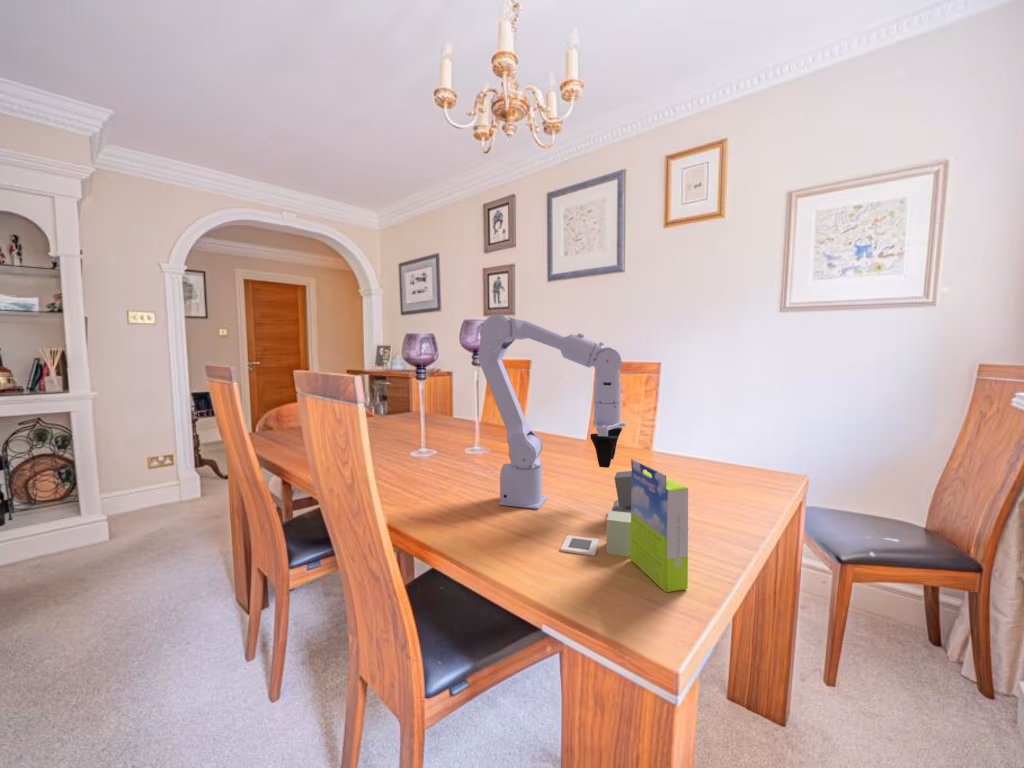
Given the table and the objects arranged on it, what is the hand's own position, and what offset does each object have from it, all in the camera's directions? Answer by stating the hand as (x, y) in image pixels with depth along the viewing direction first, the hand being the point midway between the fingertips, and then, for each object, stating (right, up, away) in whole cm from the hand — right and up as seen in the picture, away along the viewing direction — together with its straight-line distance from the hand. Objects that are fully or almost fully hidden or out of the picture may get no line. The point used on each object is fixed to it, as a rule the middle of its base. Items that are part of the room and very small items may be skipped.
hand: (606, 462), depth 94 cm
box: (+1, -12, -28) cm, 31 cm away
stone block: (+5, -11, -6) cm, 14 cm away
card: (-9, -12, -18) cm, 23 cm away
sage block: (-2, -12, -20) cm, 23 cm away
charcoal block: (+4, -7, -7) cm, 10 cm away
